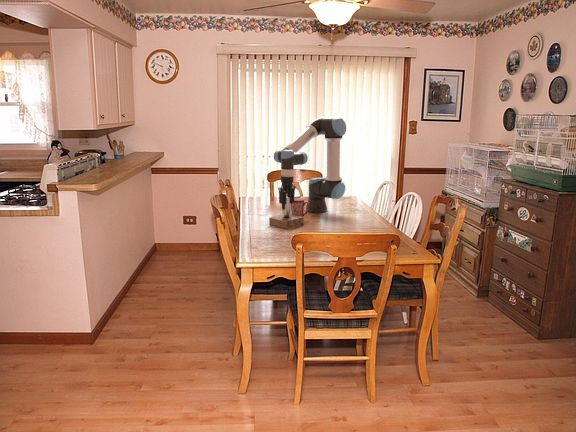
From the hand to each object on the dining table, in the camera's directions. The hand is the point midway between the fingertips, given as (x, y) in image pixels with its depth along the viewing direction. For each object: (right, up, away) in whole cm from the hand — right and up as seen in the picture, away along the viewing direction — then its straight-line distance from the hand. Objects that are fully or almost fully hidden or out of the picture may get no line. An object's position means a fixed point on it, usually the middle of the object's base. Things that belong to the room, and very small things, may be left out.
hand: (286, 213), depth 290 cm
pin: (0, -4, +1) cm, 4 cm away
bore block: (0, -7, +2) cm, 7 cm away
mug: (+9, -4, +17) cm, 19 cm away
